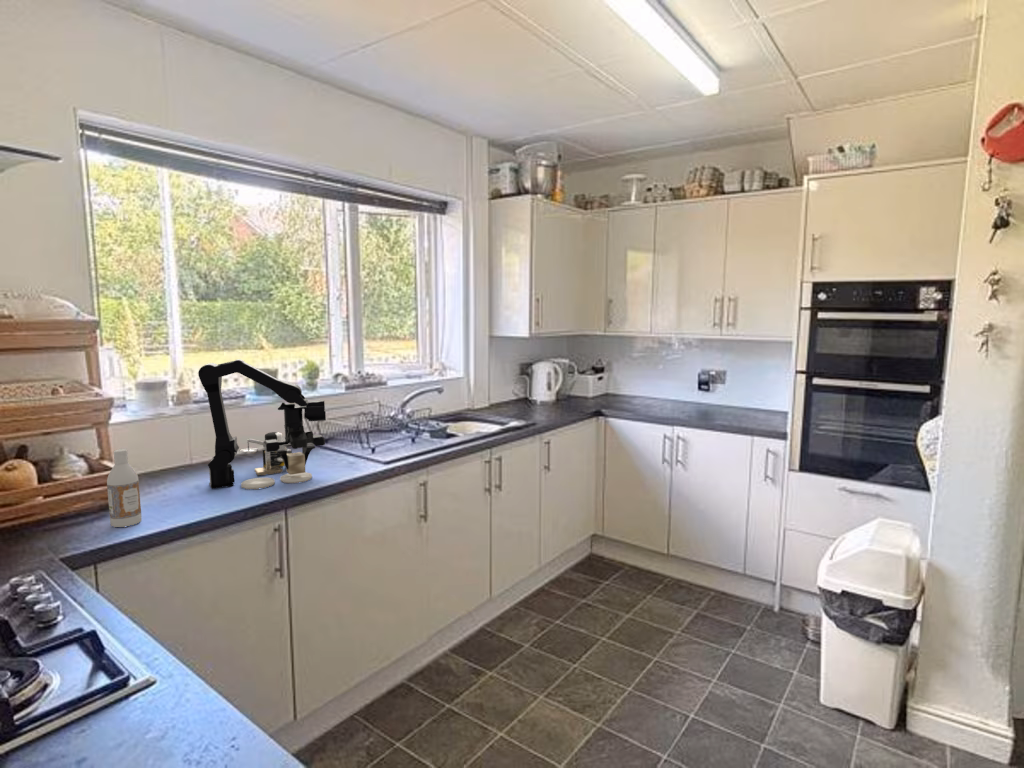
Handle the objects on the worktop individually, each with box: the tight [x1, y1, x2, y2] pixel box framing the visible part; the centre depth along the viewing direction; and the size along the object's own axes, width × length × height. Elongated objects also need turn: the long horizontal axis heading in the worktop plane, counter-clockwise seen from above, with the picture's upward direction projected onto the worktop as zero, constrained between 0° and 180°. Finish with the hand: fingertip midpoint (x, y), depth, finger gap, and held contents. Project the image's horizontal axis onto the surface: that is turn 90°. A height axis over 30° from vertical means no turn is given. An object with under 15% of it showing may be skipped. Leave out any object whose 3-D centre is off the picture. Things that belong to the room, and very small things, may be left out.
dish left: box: [240, 477, 276, 490], centre depth 190 cm, size 10×10×1 cm
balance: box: [238, 438, 293, 477], centre depth 204 cm, size 18×6×13 cm, turn 124°
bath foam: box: [106, 448, 143, 528], centre depth 154 cm, size 7×7×20 cm
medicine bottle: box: [262, 431, 285, 468], centre depth 214 cm, size 7×7×12 cm
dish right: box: [279, 471, 313, 484], centre depth 196 cm, size 10×10×1 cm
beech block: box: [285, 451, 306, 475], centre depth 196 cm, size 5×5×6 cm
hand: (295, 467), depth 196 cm, fingers closed on beech block, 5 cm apart
